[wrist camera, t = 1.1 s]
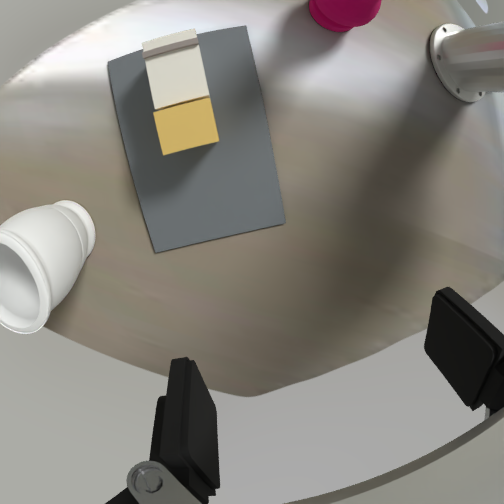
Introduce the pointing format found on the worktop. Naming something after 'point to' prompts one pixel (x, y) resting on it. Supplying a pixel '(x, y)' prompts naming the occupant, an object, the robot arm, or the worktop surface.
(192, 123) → the stub
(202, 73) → the ticket
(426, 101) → the worktop surface
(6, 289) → the jar
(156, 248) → the mat
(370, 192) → the worktop surface
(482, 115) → the worktop surface
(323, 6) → the pepper mill
